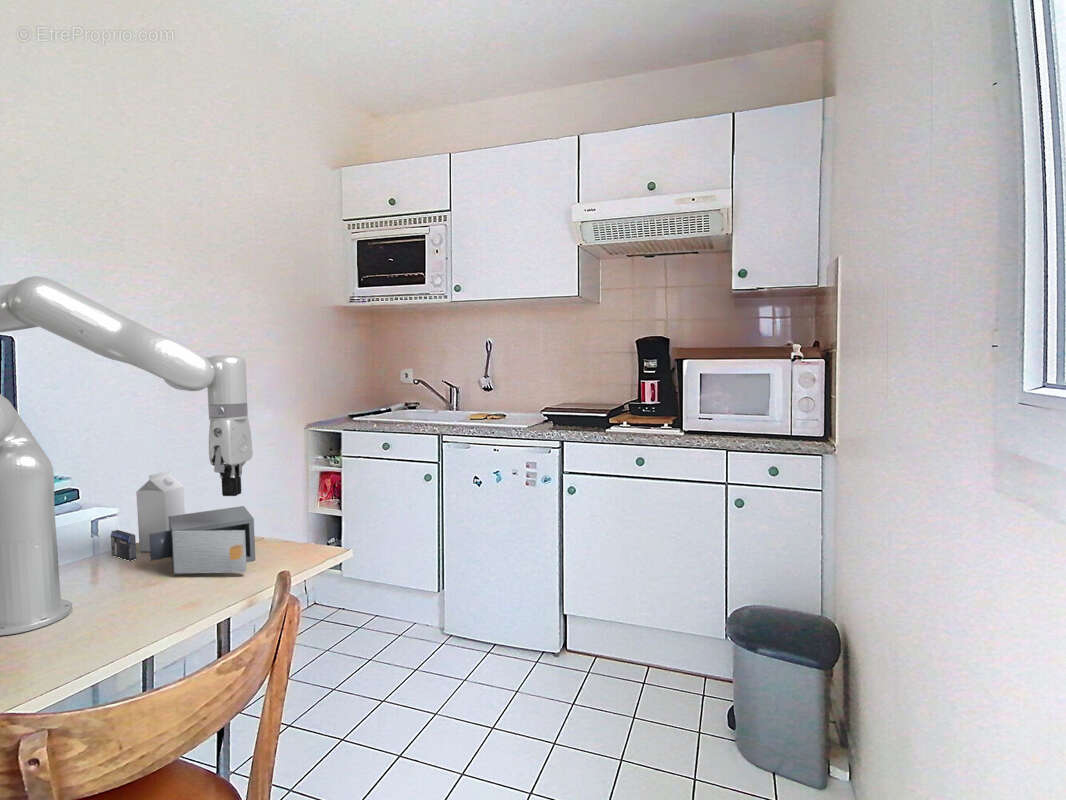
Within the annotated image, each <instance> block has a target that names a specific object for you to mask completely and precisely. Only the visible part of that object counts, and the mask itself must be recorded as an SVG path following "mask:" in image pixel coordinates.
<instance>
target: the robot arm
mask: <svg viewBox="0 0 1066 800" xmlns="http://www.w3.org/2000/svg"><path fill="white" fill-rule="evenodd" d="M35 328H41V329H43V330H45V331H47V332H50V333H52V334H54V335H56V336H58V337H60V338H63V339H65V340H67V341H69V342H71V343H73V344H75V345H78V346H80V347H82V348H84V349H86V350H88V351H90V352H92V353H94V354H97V355H99V356H102V357H104V358H107V359H110V360H112V361H117V362H121V363H124V364H127V365H131V366H133V367H136V368H137V369H140V370H143V371H145V372H147V373H149V374H152V375H154V376H155V377H158V378H161V379H163V381H164V382H165V383H166V384H167V385H168V386H169V387H172V388H174V389H176V390H179V391H186V392H199V391H201V390H205V389H207V405H208V406H207V407H208V408H207V409H208V420H209V427H208V428H209V429H208V430H209V431H208V456H209V457H208V458H209V464H210V465H211V466H213V471H214V473H217V474H219V478H220V479H221V494H222V496H223V497H237V496H238V495H241V494H242V473H243V466H244V465H245V464H246V463H247V462H248V461H249V460H251V459H252V458H253V455H254V454H253V442H252V441H253V440H252V434H251V432H252V431H251V425H250V421H249V417H248V416H249V410H248V408H249V407H248V393H247V392H248V387H247V369H246V368H247V367H246V366H247V365H246V360H245V358H244V357H242V356H240V355H229V354H228V355H212V356H204V355H202V354H200V353H199V352H197V351H195V350H193V349H191V348H189V347H187V346H185V345H183V344H181V343H180V342H178V341H175V340H173V339H171V338H169V337H168V336H165V335H163V334H160V333H158V332H157V331H155V330H152V329H150V328H148V327H145V325H142V324H140V323H139V322H136V321H134V320H132V319H130V318H129V317H128V318H127V317H126V316H123V315H122V314H120V313H118V312H117V311H114V310H112V309H110V308H108V307H107V306H104V305H102V304H100V303H98V302H96V301H94V300H92V299H91V298H89V297H87V296H85V295H83V294H81V293H79V292H77V291H75V290H73V289H72V288H70V287H68V286H66V285H63V284H62V283H60V282H57V281H55V280H53V279H50V278H48V277H44V276H28V277H25V278H23V279H21V280H19V281H17V282H16V283H11V284H1V285H0V333H8V332H13V331H21V330H27V329H35ZM55 509H56V506H55V475H54V468H53V464H52V462H51V461H50V458H49V457H48V455H47V453H46V452H45V451H44V450H43V448H42V447H41V444H40V443H39V442H38V441H37V439H36V438H35V436H34V435H33V434H32V432H31V431H30V428H29V427H28V426H27V424H26V423H25V422H24V420H23V419H22V417H21V416H20V414H19V413H18V411H17V409H15V407H14V406H13V404H12V402H10V400H9V399H8V398H6V397H5V396H3V395H2V394H1V393H0V636H8V635H15V634H20V633H24V632H29V631H32V630H37V629H39V628H43V627H45V626H48V625H51V624H54V623H56V622H59V621H60V620H62V619H64V618H65V617H67V616H69V615H70V614H71V612H72V611H73V603H72V602H71V601H70V600H68V599H62V598H61V597H62V596H61V584H60V581H61V580H60V571H59V570H60V568H59V553H58V540H57V539H58V538H57V536H58V535H57V527H56V523H57V522H56V510H55Z"/></svg>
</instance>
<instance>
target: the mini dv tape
mask: <svg viewBox="0 0 1066 800" xmlns="http://www.w3.org/2000/svg"><path fill="white" fill-rule="evenodd" d="M136 543H137V542H136V534H134V533H130V532H128V531H127V532H126V531H124V530H120V529H116V530H112V531H111V532H110V544H111V556H112V557H114V556H116V557H115V558H117V557H120V558H122V559H121V560H123V559H126V560H129V561H130V562H132V561H131V560H133V561H135V560H134V559H137V544H136ZM120 558H119V559H120ZM126 560H125V561H126ZM129 561H128V562H129Z"/></svg>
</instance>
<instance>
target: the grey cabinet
mask: <svg viewBox="0 0 1066 800" xmlns="http://www.w3.org/2000/svg"><path fill="white" fill-rule="evenodd" d="M254 519H255V518H254V517H253V515H252V514H251V513H250V512H249V511H248V509H247V508H246V507H245V505H241V506H234V507H227V508H226V507H225V508H220V509H211V510H205V511H199V512H198V511H196V512H190V513H185V514H182V515H175V516H169V531H164V532H157V533H150V534H149V542H150V552H149V556H150V557H149V558H150V561H157V560H162V559H163V560H164V559H168V558H170V561H171V566H172V570H173V575H174V577H175V576H182V575H186V574H188V573H174V556H173V537H172V532H174V531H216V530H245V542H246V563H248V562H253V561H256V544H255V543H256V540H255V520H254Z"/></svg>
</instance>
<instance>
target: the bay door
mask: <svg viewBox="0 0 1066 800" xmlns="http://www.w3.org/2000/svg"><path fill="white" fill-rule="evenodd" d="M172 537H173V556H174V571H173V574H174V573H187V574H223V573H224V574H229V573H233V574H234V573H239V574H240V573H242V574H243V573H246V572H247V570H248V569H247V562H246V542H245V530H216V531H174V532H172Z"/></svg>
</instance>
